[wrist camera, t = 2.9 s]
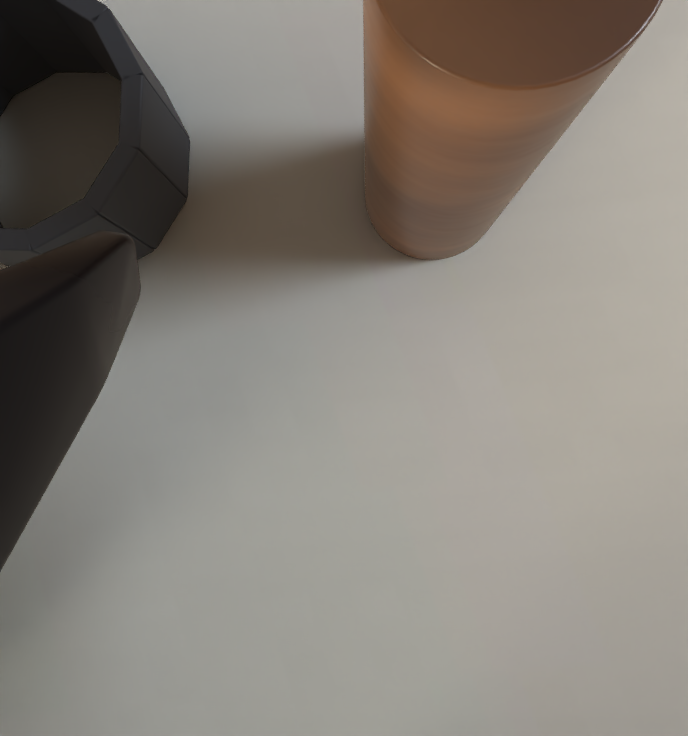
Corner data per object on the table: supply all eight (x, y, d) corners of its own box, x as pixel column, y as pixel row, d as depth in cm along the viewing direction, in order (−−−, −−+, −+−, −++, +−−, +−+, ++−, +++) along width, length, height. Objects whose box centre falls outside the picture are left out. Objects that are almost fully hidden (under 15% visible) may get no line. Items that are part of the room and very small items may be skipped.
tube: (30, 318, 21) (-61, 300, 17) (-70, 122, 21) (-186, 52, 17) (228, 211, 21) (191, 164, 17) (125, 15, 21) (61, -83, 17)
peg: (404, 283, 21) (455, 145, 9) (341, 167, 21) (308, -125, 9) (522, 220, 21) (739, -7, 9) (459, 104, 21) (583, -277, 9)
